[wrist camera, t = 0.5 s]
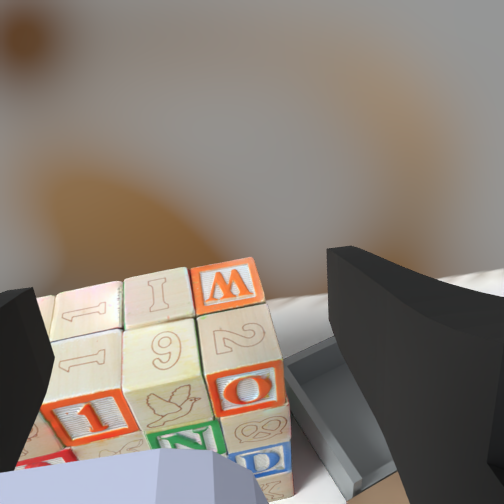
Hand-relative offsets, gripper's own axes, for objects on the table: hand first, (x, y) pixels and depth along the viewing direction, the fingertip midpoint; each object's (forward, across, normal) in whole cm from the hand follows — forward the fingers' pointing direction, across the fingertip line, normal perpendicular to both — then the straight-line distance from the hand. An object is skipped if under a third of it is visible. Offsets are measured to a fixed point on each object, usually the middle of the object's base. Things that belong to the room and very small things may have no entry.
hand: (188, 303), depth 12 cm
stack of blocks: (+10, +8, +17) cm, 21 cm away
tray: (+11, -9, +15) cm, 21 cm away
